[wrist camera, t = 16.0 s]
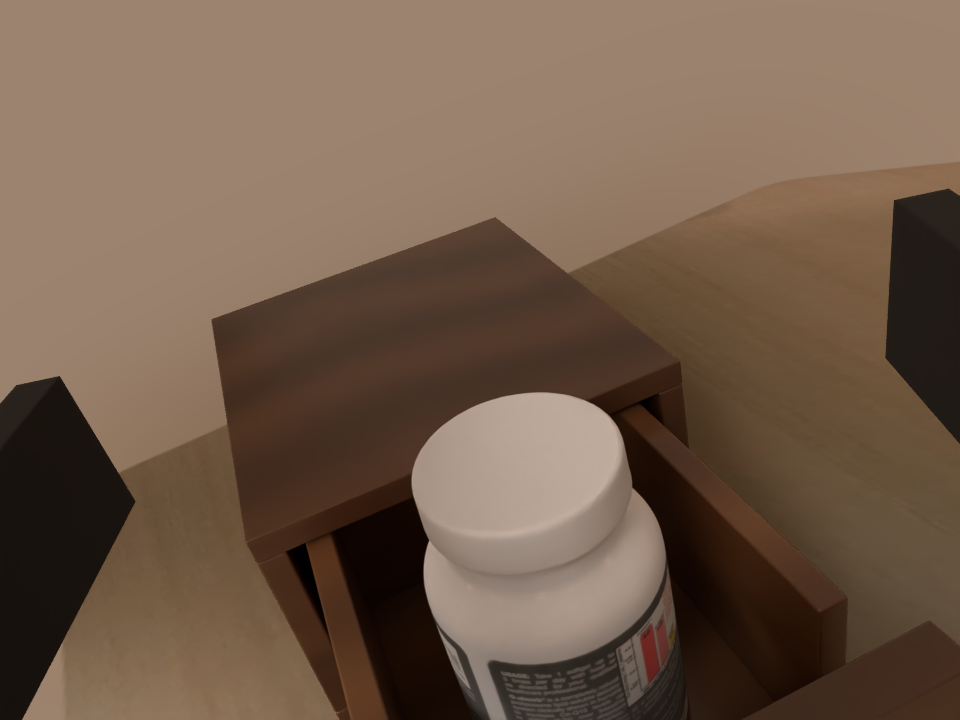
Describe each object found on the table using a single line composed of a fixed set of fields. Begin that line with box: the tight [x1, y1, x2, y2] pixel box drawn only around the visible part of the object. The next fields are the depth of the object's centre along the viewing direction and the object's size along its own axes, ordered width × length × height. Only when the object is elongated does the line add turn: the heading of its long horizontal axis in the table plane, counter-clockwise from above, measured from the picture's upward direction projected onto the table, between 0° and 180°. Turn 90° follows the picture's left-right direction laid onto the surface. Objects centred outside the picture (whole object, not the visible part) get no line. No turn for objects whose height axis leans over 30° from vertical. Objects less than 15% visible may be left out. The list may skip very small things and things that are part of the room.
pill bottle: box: [412, 392, 691, 720], centre depth 19 cm, size 6×6×10 cm
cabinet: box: [212, 218, 689, 720], centre depth 32 cm, size 16×14×9 cm
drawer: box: [306, 402, 960, 720], centre depth 20 cm, size 19×13×7 cm, turn 21°
